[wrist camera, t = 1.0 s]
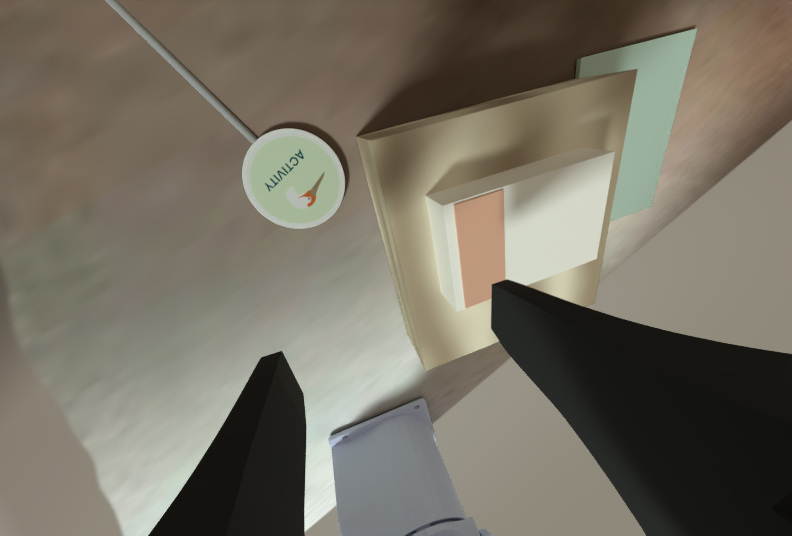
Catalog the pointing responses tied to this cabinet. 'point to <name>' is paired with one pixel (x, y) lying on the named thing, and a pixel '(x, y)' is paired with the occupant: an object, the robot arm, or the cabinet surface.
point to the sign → (275, 160)
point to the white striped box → (519, 224)
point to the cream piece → (474, 159)
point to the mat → (644, 111)
